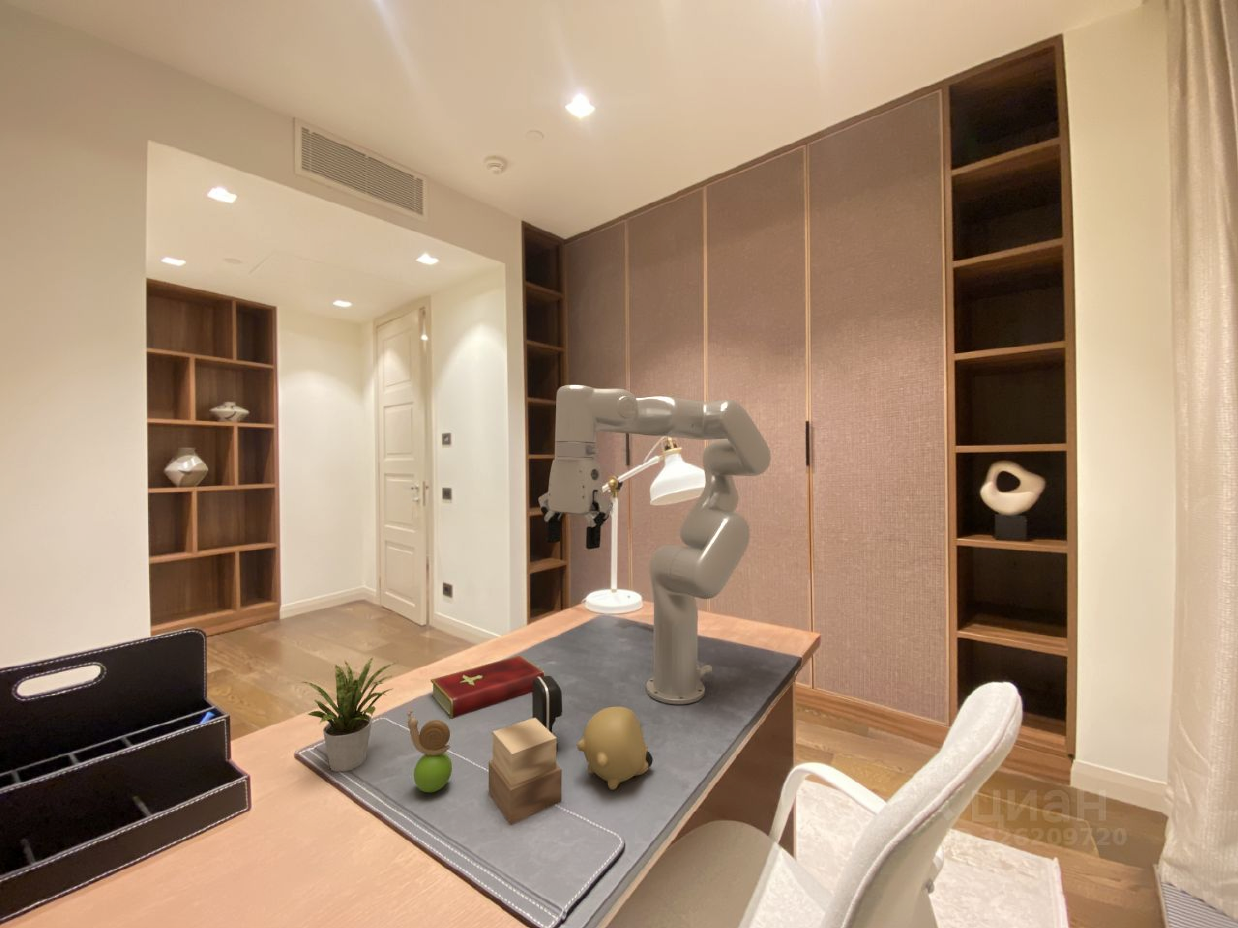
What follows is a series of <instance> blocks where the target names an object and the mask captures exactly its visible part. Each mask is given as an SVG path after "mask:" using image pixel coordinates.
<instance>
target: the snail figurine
mask: <svg viewBox="0 0 1238 928" xmlns="http://www.w3.org/2000/svg"><path fill="white" fill-rule="evenodd" d="M412 713H413V710H412V709H409V711H408V712H407V716H408V717H409V719H408V721H407V727H408V728H409V732H410V733H409V734H410V739H411V741H412V744H413V746H414V748H415V749H416V750H417V752H419V753H421V754H423V755H422V756H421V757H420V758H419V759H418V760H417V762H416V765H415V766H414V772H413V780H414V784H415V785H416V787H417V788H418V789H419V790H420V791H422V792H424V793H435V792H438V791H440V790H441V789H442V788H443V787H444V786H445V785H447V783H448V782H449V780H450V779H451V775H452V771H453V764H452V760H451V758H450V756H449V755H448V754H447V753H446V752H447V751H448V750H449V749H450V748H451V745H449V744H448V743H449V740H450V738H451V737H450V736H451V731H450V728H449V726H448V725H447V723H445V722H444V721H442V720H437V719H435V720H430V721H428V722H426V723H425V724H424V725H423V726H422V727H421V729H420V731H419V729H418V723H419V721H418V719H417V718H415V717H412V716H411V715H412ZM411 717H412V718H411Z"/></svg>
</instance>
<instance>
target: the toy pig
mask: <svg viewBox="0 0 1238 928" xmlns="http://www.w3.org/2000/svg"><path fill="white" fill-rule="evenodd" d="M576 745H577V750H578V751H579V752H580V753H581V752H582V753H583V754H584V757H585V759H586V761H587V770H588V771H589V772H590V773H591V774H592V773H595V774H596V775H597V776H598V777H600V778H601V779H603V780H604V781H606V782H607V785H608V788H609V789H611V790H615V789H617V787H618V785H619V784H620V783H622V782H623V783H624V782H625V781H628V780H630V779H631V778H633V777H634V776H641V775H643V774H645V773H646V772H647V771H648V769H649V768H651V766H652V764H653V761H654V760H653V759H654V758H653V756H652V753H650V752H649V751H648V750H649V745H647V744H645V739H644V733H643V730H642V727H641V725H640V722H639V720H638V718H637V716H636V715H635V713H634V711H633V710H631V709H630V708H627V707H624V706H611V707H610V706H609V707H606V708H603V709H601V710H599V711H598V712H596V713H595V714H594V715H593V716H592V717H591V718H590V720H589V721H588V723H587V724H586V726H585V729H584V732H583V737H582V739H581V740H579V741H578V743H577V744H576Z"/></svg>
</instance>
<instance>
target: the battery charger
mask: <svg viewBox="0 0 1238 928" xmlns="http://www.w3.org/2000/svg"><path fill="white" fill-rule="evenodd" d="M531 695H532V696H531V697H532V698H531V700H532V701H531V702H532V703H531V705H532V706H531V707H532V709H531V710H532V712H531V714H532V718H536V719H537V720H538V721H539V722H540V723H541V724H542V725H543V726H545V727H546V728H547V729H548V730H549V731H550V732H551V733H552V734H553V726H554V724H555V722H556V721H557V719H558V718H560V717H562V715H563V696H562V695H563V692H562V689H561V687H560V685H559V684H558V682H557V681H556V680H555V679H554V678H553V676H552V675H546V676H543V677H537V678H534V679H533V685H532V692H531ZM558 750H559V744H558V743H557V742H556V752H558Z"/></svg>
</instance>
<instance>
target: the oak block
mask: <svg viewBox="0 0 1238 928" xmlns="http://www.w3.org/2000/svg"><path fill="white" fill-rule="evenodd" d="M556 743H557V737H556V736H555V735H554V734H553V732H552V733H551V732H550V731H549V730H548V729H547V728H546V727H545V726H543V725H542V724H541V723H540V722H539V721H538V720H537V719H536V718H533V717H532V718H529V719H527V720H523V721H520V722H517V723H515V724H512V725H507V726H506V727H502V728H499V729H496V730H493V731H492V760H493V763H494V764H495V765H496V766H497V768H498V769H499V770H500V772H501V773H502V774H503V776H504V777H505V778H506V780H507V781H508V782H509V784H510V785H511V786H514V785H517V784H519V783H522V782H524V781H526V780H529V779H531V778H534V777H536V776H539V775H541V774H544V773H546V772H548V771H551V770H553V769H556V764H557V751H556Z"/></svg>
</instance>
